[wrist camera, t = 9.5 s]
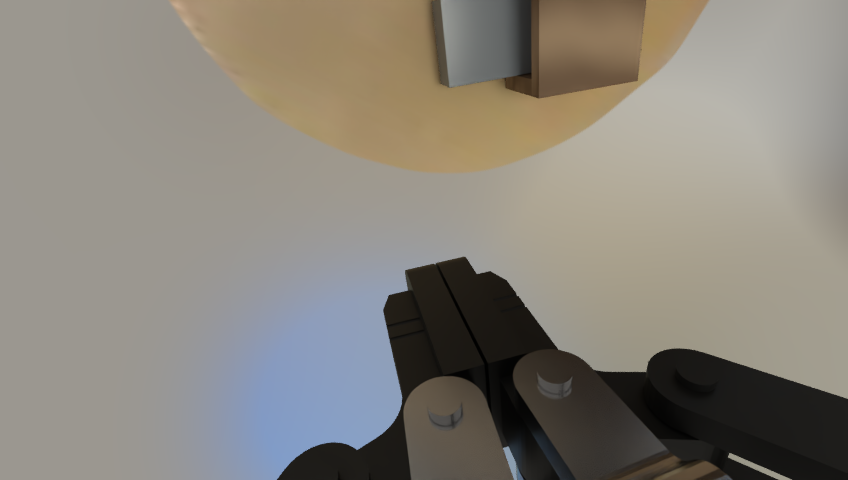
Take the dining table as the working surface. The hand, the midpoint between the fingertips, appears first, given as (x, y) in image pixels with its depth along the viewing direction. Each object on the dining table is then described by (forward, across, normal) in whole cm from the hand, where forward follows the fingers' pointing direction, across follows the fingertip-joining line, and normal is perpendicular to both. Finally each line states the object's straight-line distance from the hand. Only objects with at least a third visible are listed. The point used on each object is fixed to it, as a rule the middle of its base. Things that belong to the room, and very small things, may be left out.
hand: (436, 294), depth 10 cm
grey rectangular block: (+27, -13, -4) cm, 31 cm away
